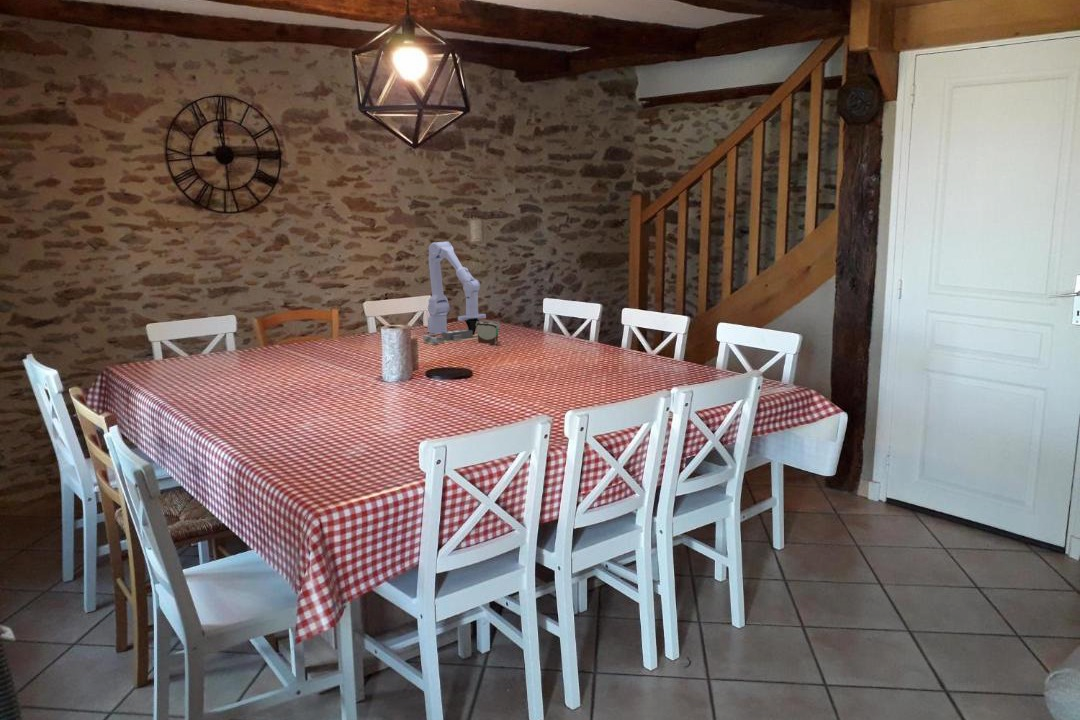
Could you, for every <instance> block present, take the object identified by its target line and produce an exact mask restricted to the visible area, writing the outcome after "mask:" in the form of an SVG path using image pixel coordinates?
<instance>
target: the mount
mask: <svg viewBox="0 0 1080 720" xmlns="http://www.w3.org/2000/svg"><path fill="white" fill-rule="evenodd" d="M422 337H423V340H420V343H423V344H426V345H428V346H429V345H430V346H438V345H441V344H445V343H446V344H447V343H453V342H461V341H469V340H478V335H477V333H475V334H474V335H473V338H467V339H462V335H453V340H452V341H445V340H444V337H442V336H437V337H436V334H434V333H430V334H423V336H422Z"/></svg>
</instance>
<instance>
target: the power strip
mask: <svg viewBox="0 0 1080 720" xmlns="http://www.w3.org/2000/svg"><path fill="white" fill-rule="evenodd" d="M453 335H462V339H467V338H473V330H469V329H468V328H466V329H458V330H448V331H447V332H442V333H441V337H444V340H445V341H452V340H453Z"/></svg>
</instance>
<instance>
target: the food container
mask: <svg viewBox="0 0 1080 720" xmlns="http://www.w3.org/2000/svg"><path fill="white" fill-rule="evenodd" d="M476 326H477V327H476V334H477V335H478V339H477V343H482V344H487V345H488V346H493V347H495V346H497V345H498V338H499V331H500V330H499V329H501V326H500V322H499V321H496V320H495V321H494V320H479V321H477V322H476Z"/></svg>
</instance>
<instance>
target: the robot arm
mask: <svg viewBox="0 0 1080 720" xmlns="http://www.w3.org/2000/svg"><path fill="white" fill-rule="evenodd" d="M427 258H428V269H429V278H430V286H431V287H430V289H431V296H430V298H429V299H428V305H427V310H428V313H429V316H428V318H427V330H426V333H428V332H429V334H435V335H440V334H441V335H442V332H447V328H448V327H447V326H448V325H447V323H448V321H447V315H448V313H449V311H450V309H451V308H450V303H449V301H448V297H447V296H446V295H445V293H444V286H443V278H442V277H443V276H442V275H443V274H442V265H441V262H442V261H443V259H445V260H446V259H447V261H448V262H449V263H450V265H451V266H452V267H453V268H454V269H455V271H456V272H455V275H456V277H457V278H458V280H459V281H460V282H461V284H462V289H463V291H464V292H463V293H464V296H465V314H464V315H460V316H457V321H458V322H463V321H464V322H465V324H466V327H467V329H469V330H473V335H474V334H476V331H477V326H476V322H477V321H480V319H486V318H487V314H486V313H479V291H480V290H481V283H480V281H479V280H478V279H476V278H474V277H473V275H472V274H471V273H470V271H469V268H467V267H465V266H463V264H462V263H461V262H460V260H459V258H458V256H457V255H456V253H455V250H454V247H453V246H452V243H451V242H449V241H448V240H447V241H439V242H437V241H435V242H432V243H431V244H430V245H429V246H428V257H427Z"/></svg>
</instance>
